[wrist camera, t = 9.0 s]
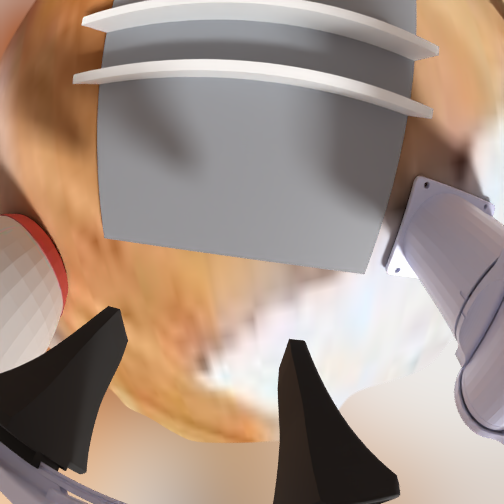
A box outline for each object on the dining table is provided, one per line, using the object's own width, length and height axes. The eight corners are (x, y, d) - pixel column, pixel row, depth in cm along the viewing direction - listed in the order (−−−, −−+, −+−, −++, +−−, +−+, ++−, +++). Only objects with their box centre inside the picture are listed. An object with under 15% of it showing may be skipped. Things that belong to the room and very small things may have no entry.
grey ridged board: (407, -39, 7) (429, -57, 3) (360, 266, 20) (375, 299, 16) (142, -62, 7) (120, -81, 4) (110, 232, 20) (84, 257, 16)
